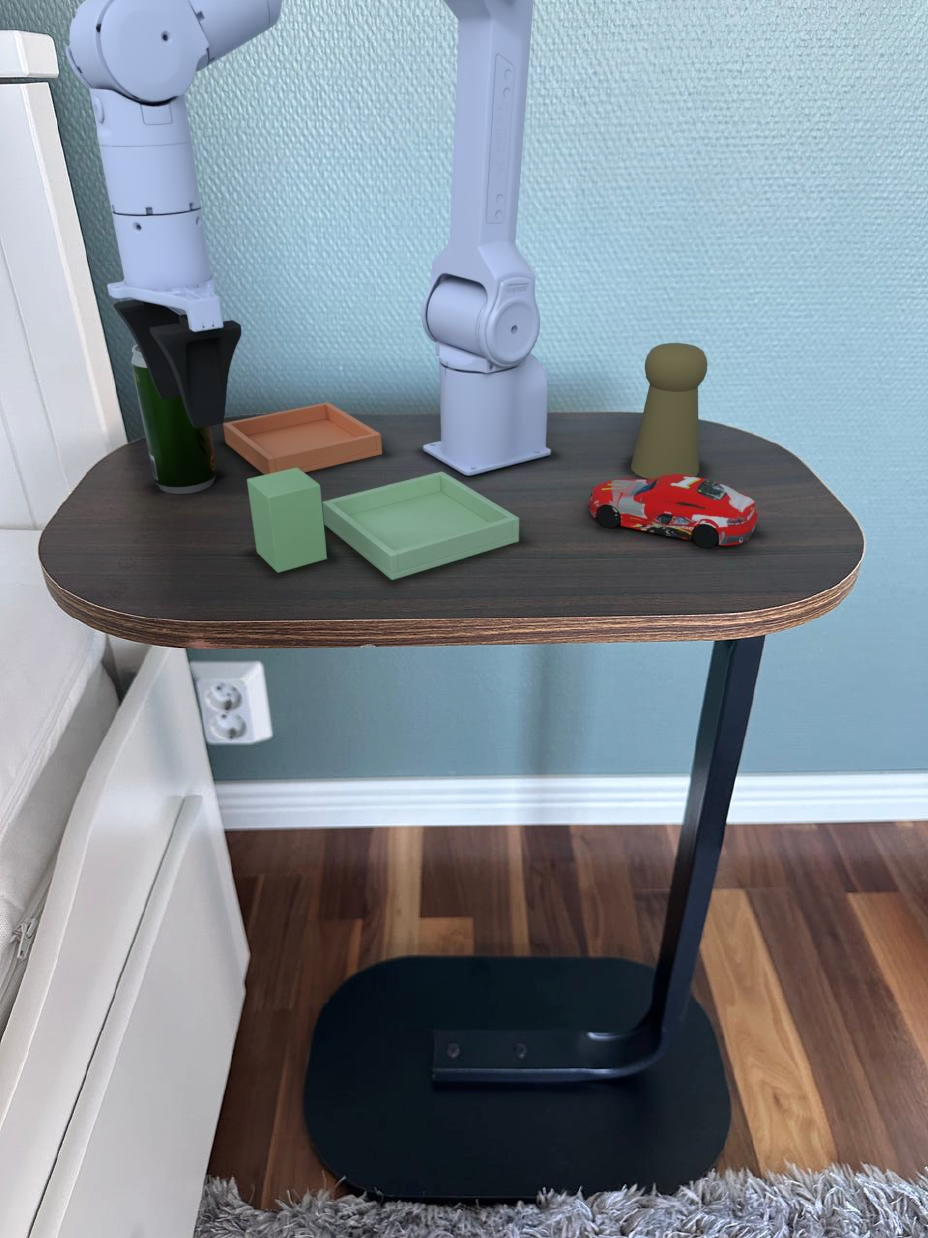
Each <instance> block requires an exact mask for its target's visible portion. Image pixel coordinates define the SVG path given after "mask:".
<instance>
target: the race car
mask: <svg viewBox="0 0 928 1238" xmlns="http://www.w3.org/2000/svg"><path fill="white" fill-rule="evenodd" d="M756 506H757V505H756V500H754V499H753V498H751V497H750V496H748V495H746V494H744V493H741V492H738V491H737V490H734V489H733V488H731V487H729V486H728V485H725V484H722V483H719V482H716V481H714V480H710V479H706V478H703V477H699V476H689V475H682V474H669V475H665V476H664V475H662V476H660V477H657V478H653V479H644V478H642V479H640V478H639V479H638V478H619V479H612V480H608V481H605V482H601V483H600V484H597V485H596V486H595V487H594V488H593V489H592V492H591V493H590V495H589V498H588V509H589V513H590V515H591V516H592V517H593V518H594V519H596V518H597V521H598V522H599V524H600V525H601V526H603V527H604V528H607V529H612V528H615V527H617V526H618V525H620V526H621V527H625V528H629V529H635V530H640V531H645V532H649V533H654V534H659V535H663V536H668V537H673V538H679V539H683V540H688V541H691V540H692V538H693V541H694V543H695V544H696V545H697V546H698V547H701V548H703V549H709V548H712V547H714V546H715V545H716V544H717V543H718V546H735V545H741V544H744V543H745V542H749V540H750V538H751V537H752V536H753V534H754V533H755V530H756V529H757V527H758V524H757V522H758V513H757V507H756Z"/></svg>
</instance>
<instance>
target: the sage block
mask: <svg viewBox="0 0 928 1238" xmlns="http://www.w3.org/2000/svg"><path fill="white" fill-rule="evenodd" d="M246 483H247V491H248V498H249V505H250V512H251V520H252V527H253V534H254V541H255V542H254V543H255V549H256V553H257V554H258V555H259V556H260V557H261V558H262V559H263V560H264V562H266V563H267V564H268V565H269V566H270V567H271V568H272V569H273V570H274V571H275V572H276V573H278V574H280V573H283V572H286V571H289V570H293V569H296V568H300V567H304V566H306V565H310V564H315V563H318V562H322V561H325V560H328V557H327V556H328V555H327V553H328V552H327V545H326V533H325V524H324V514H323V504H322V502H323V500H322V492H321V485H320V484H319V483H318V482H317V481H316V480H314V479H313V478H312V477H311V476H309V475H308V474H307V473H306V472H302V471H301V470H300V469H299V468H292V469H288V470H284V471H280V472H275V473H271V474H267V475H264V474H263V475H259V476H254V477H250V478H247V479H246Z"/></svg>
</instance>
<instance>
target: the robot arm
mask: <svg viewBox="0 0 928 1238" xmlns="http://www.w3.org/2000/svg"><path fill="white" fill-rule="evenodd" d="M283 1H284V0H84V1H83V2H82V3H81V4H80V5H79V6H78V7H77V9H76V10H75V12H74V13H75V17H74V18H72V19H71V22H70V28H69V44H68V45H66V46H65V55H66V57H67V60H68V63H69V66H70V67H71V70H72V71H73V73H74V75H75V76H76V77H77V78H78V80H79V81H80V82H81V84H83V86H85V87H86V89H87V90H88V92H89V96H90V100H91V105H92V110H93V116H94V122H95V126H96V138H97V143H98V148H99V153H100V157H101V163H102V168H103V173H104V179H105V184H106V190H107V195H108V200H109V205H110V209H111V210H110V211H111V215H112V221H113V226H114V231H115V236H116V241H117V247H118V252H119V256H120V263H121V268H122V274H123V277H124V278H123V280H122V281H117V282H111V283H108V284H107V285H106V286H107V292H108V295H109V296H110V297H112V298H113V299H115V300H121V301H117V302H115V303H113V308H114V310H115V311H116V313H117V314H118V316H119V317H120V318H121V319H122V321H123V323H124V324H125V325H126V327H127V329H128V330H129V331H130V333H131V336H132V337H133V339H134V341H135V343H136V345H138V347H139V349H140V351H141V354H142V356H143V358H144V361H145V363H146V366H147V369H148V371H149V374H150V376H151V379H152V381H153V384H154V386H155V388H156V390H157V392H158V394H159V396H160V398H161V399H168V398H173V397H179V396H182V400H183V403H184V406H185V409H186V412H187V415H188V417H189V419H190V421H191V423H192V425H193V427H195V428H203V427H208V426H210V427H213V426H218V425H222V424H223V423H224V422H225V421H224V420H225V416H226V415H225V414H226V404H227V391H228V381H229V373H230V371H231V370H230V369H231V365H232V361H233V357H234V354H235V351H236V348H237V346H238V343H239V341H240V339H241V337H242V324H240V323H239V322H237V321H236V320H234V319H231V320H224V319H223V312H222V305H221V299H220V297H219V296H218V295H216V294H217V293H216V292H217V285H216V284H217V283H216V277H215V275H214V274H213V273H212V271H211V269H212V268H211V264H210V262H211V261H210V257H209V256H210V255H209V249H208V243H207V236H206V229H205V222H204V214H203V208H202V203H201V202H202V201H201V196H200V188H199V180H198V173H197V168H196V161H195V155H194V146H193V141H192V140H193V139H192V132H191V129H190V122H189V115H188V109H187V108H188V107H187V102H186V95H185V94H186V93H187V92H188V90H189V89H190V87H191V85H192V83H193V81H194V79H195V76H196V73H198V72H200V71H202V70H204V69H205V68H207V67H209V66H210V65H212V64H214V63H216V62H217V61H219V60H220V59H222V58H224V57H225V56H227V55H229V54H230V53H232V52H234V51H235V50H237V49H239V48H240V47H242V46H243V45H245V44H246V43H248V42H250V41H252V40H254V38H256V37H258V36H260V35H262V34H263V33H265V32H267V31H268V30H270V29H271V28H273V27H274V26H276V25H277V23H278V21H279V19H280V16H281V12H282V7H283ZM442 1H443V2H444V3H445V5H446V6H447V8H448V9H449V10H450V11H451V12H452V14H453V15H454V17H456V19H457V22H458V41H457V42H458V43H457V45H458V46H457V64H456V67H457V68H456V85H455V86H456V88H455V90H456V91H455V112H454V132H453V133H454V134H453V157H452V158H453V159H452V180H451V202H450V203H451V204H450V224H449V225H450V226H449V240H448V242H447V243H446V245H444V247H443V248H442V250H441V251H440V252H439V253H438V254H437V255H436V257H434V259H433V260H432V261H431V277H430V282H429V285H428V287H427V290H426V292H425V295H424V296H423V301H422V304H421V310H420V311H421V313H420V315H421V323H422V327H423V329H424V332H425V334H426V335H427V337H429V339H430V340H431V341H432V342H433V343H435V355H436V356H438V365H439V367H438V368H439V369H438V370H439V371H438V372H439V408H440V409H439V413H440V440H439V441H434V442H430V443H427V444H424V445H422V450H423V452H425V453H427V454H429V455H430V456H432V457H434V458H436V459H437V460H439V461H441V462H442V463H444V464H446V465H447V466H448V467H451V468H452V469H454V470H456V471H458V472H459V473H461V474H463V475H464V476H466V477H467V476H468V477H470V476H475V475H478V474H483V473H486V472H490V471H493V470H497V469H502V468H506V467H509V466H513V465H518V464H521V463H525V462H528V461H533V460H536V459H540V458H545V457H548V456H551V454H552V449H550V448H549V447H548V446H547V430H548V401H549V385H548V379H547V374H546V370H545V368H544V366H543V364H542V362H541V361H540V360H539V358H538V357H537V356H535V354H533V353H531V352H532V351H533V349H534V347H535V345H536V343H537V341H538V337H539V334H540V329H541V315H540V310H539V306H538V304H537V300H536V278H537V277H536V274H535V272H534V270H533V269H532V267H531V266H530V264H529V263H528V262H527V260H526V259H525V258H524V256H523V255H522V253H521V252H520V251H519V248H518V247H517V245H516V241H517V239H516V238H517V226H518V225H517V224H518V212H519V199H520V188H521V174H522V172H521V171H522V161H523V160H522V159H523V147H524V133H525V132H524V131H525V120H526V119H525V118H526V105H527V92H528V79H529V68H530V67H529V66H530V53H531V40H532V39H531V38H532V27H533V26H532V25H533V14H534V13H533V12H534V0H442ZM122 299H123V300H122ZM124 299H129V300H124Z"/></svg>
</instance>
